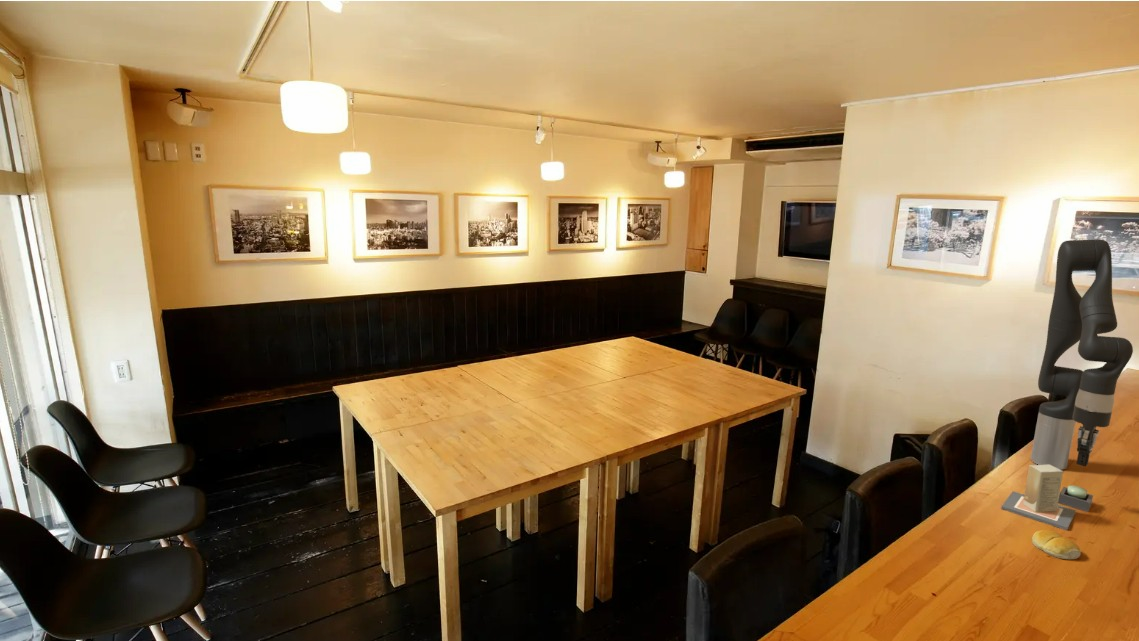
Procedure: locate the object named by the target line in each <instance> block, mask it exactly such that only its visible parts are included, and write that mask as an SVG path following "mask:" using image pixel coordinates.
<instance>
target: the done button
mask: <svg viewBox="0 0 1139 641" xmlns="http://www.w3.org/2000/svg"><path fill="white" fill-rule="evenodd" d="M1067 488H1068V490H1067V493H1068V494H1069V495H1071V496H1074V497H1077V498H1086V494H1088V491H1087V488H1086V489H1085V488H1083V487H1081V486H1077V485H1072V484H1071V485H1068V486H1067Z"/></svg>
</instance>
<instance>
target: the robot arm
mask: <svg viewBox="0 0 1139 641" xmlns="http://www.w3.org/2000/svg"><path fill="white" fill-rule="evenodd" d="M1056 257H1057V258H1056V267H1055V268H1056V270H1055V284H1054V291H1053V297H1052V298H1053V299H1052V303H1051V304H1052V305H1051V308H1050V313H1049V319H1048V325H1047V326H1048V327H1047V336H1046V341H1045V343H1046V344H1045V350H1044V354H1043V357H1042V363H1041V365H1040V370H1039V375H1038V381H1037V382H1038V383H1037V385H1038V389H1039V391H1041V393H1046V394H1051V395H1055V396H1061V397H1066V398H1063V399H1060V400H1056V401H1045V402H1042V403H1041V404H1040V405H1039V408H1038V414H1037V421H1036V424H1035V431H1034V437H1033V444H1032V448H1031V453H1030V458H1031V460H1032V461H1033V462H1034V463H1033V462H1032V461H1031V460H1030V461H1031V462H1032V463H1033V464H1035V463H1036V464H1035V465H1037V464H1038V465H1052V466H1054V467H1056V468H1058V469H1060V470H1061V471H1063V470H1066V469H1067V468H1068V465H1069V458H1070V453H1071V447H1072V444H1073V438H1074V433H1075V427H1076V423H1078V424H1081V425H1080V426H1079V427H1078V429H1077V441H1076V444H1077V448H1076V451H1077V452H1078V454H1077V458H1076V464H1077V465H1079V466H1082V467H1087V466H1088V464H1089V461H1090V460H1089V459H1090V454H1091V453H1092V452H1093V450H1092V449H1094V446H1095V445H1096V443H1097V442H1096V441H1097V437H1098V436H1099V434H1100V430H1099V429H1097V427H1098V428H1107V427H1108V426H1110V424H1111V419H1112V414H1113V409H1114V404H1115V393H1116V388H1117V383H1118V379H1119V378H1120V376H1121V374H1122V372H1123V370H1124V369H1125V368H1126V366H1127V365H1128V363H1129V361H1130V360H1131V358H1132V356H1133V353H1134V349H1133V348H1134V347H1133V344H1132V343H1131V341H1130V340H1129V339H1127V338H1125V337H1119V336H1118V337H1116V336H1106V335H1105V336H1103V335H1100V334H1108V333H1111V332H1113V331H1114V330H1116V329H1117V328H1118V320H1117V315H1116V311H1115V306H1114V300H1113V264H1112V263H1113V261H1112V259H1113V258H1112V250H1111V246H1110V243H1108V240H1104V239H1099V238H1098V239H1097V238H1096V239H1072V240H1064V241H1062V242H1061V243H1060V246H1059V248H1058V251H1057V256H1056ZM1089 271H1090V272H1095V278H1094V280H1093V282H1092V284H1091V285H1090V286H1089V287H1088V289H1087V291H1086V292H1084V294H1083V295H1081V294H1080V293H1079V291H1078V290H1077V288H1076V286H1075V284H1074V281H1073V272H1089ZM1077 343H1078V347H1077V352H1078V354H1079V356H1080V357H1081V358H1082V359H1083V360H1085V361H1087V362H1099V363H1104V364H1103V366H1100V367H1095V368H1087V369H1084V370H1082V369H1079V368H1070V367H1065V366H1057V365H1055V364H1056V362H1058V360H1059V359H1060V357H1061V356H1063V355H1064V354H1065V352H1067V351H1068V350H1069V349H1070V348H1072V347H1074V346H1075V345H1076V344H1077Z"/></svg>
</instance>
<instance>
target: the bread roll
mask: <svg viewBox="0 0 1139 641" xmlns="http://www.w3.org/2000/svg"><path fill="white" fill-rule="evenodd" d="M1031 541H1032V545H1034V547H1036V548H1037V549H1039V550H1041V551H1043V552H1044V553H1046V554H1047V555H1050V556H1051V557H1054V558H1058V559H1060V560H1075V559H1078V558H1079V557H1081V549H1080V547H1079V546H1078V544H1077V543H1075V542H1074V541H1073V540H1071V539H1070V538H1067V537H1063V535H1061V533H1058V532H1056V531H1054V530H1049V529H1041V530H1036V531H1035V532H1034V533H1033V535H1032V538H1031Z"/></svg>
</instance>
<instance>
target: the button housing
mask: <svg viewBox="0 0 1139 641" xmlns="http://www.w3.org/2000/svg"><path fill="white" fill-rule="evenodd" d="M1067 490H1068V487H1065V486H1062V489H1061V490H1060V493H1059V499H1058V504H1060V505H1062V506H1065V507H1070V508H1073V509H1077V510H1080V511H1083V512H1085V513H1086V512H1087V513H1088V512H1089V511H1090V508H1091V506H1092V503H1093V500H1094V499H1093V498H1094V494H1090V493H1087V494H1086V498H1077V497H1074V496H1071V495H1069V494H1068V493H1067Z"/></svg>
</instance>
